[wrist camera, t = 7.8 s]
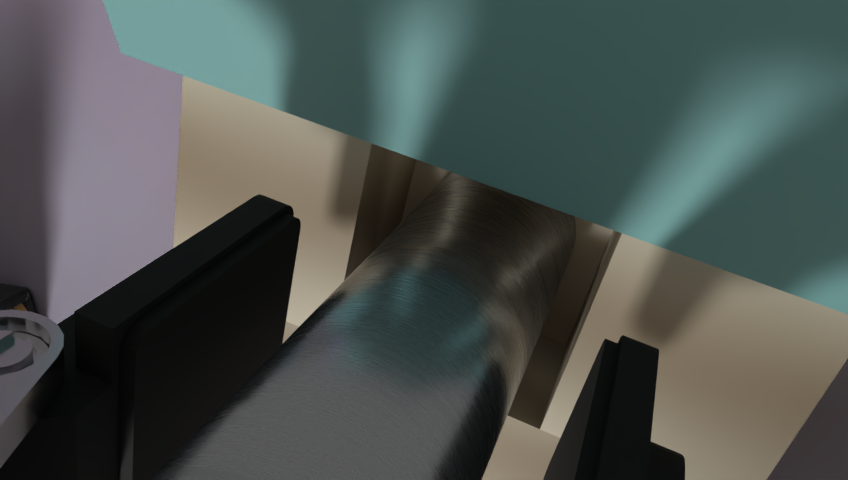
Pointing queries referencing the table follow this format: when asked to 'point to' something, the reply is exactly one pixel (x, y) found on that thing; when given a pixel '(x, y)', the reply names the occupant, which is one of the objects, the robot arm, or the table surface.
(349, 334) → the steel pin
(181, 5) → the teal square plate
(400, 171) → the block
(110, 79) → the table surface
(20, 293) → the ammunition clip
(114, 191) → the table surface
